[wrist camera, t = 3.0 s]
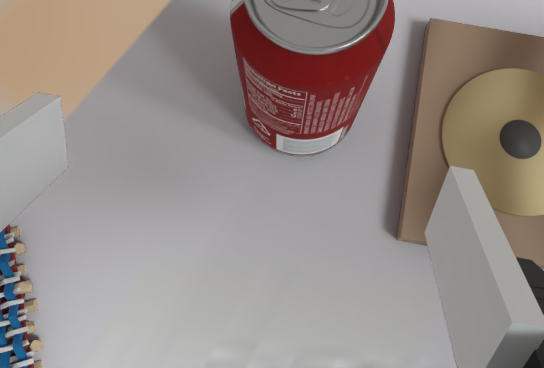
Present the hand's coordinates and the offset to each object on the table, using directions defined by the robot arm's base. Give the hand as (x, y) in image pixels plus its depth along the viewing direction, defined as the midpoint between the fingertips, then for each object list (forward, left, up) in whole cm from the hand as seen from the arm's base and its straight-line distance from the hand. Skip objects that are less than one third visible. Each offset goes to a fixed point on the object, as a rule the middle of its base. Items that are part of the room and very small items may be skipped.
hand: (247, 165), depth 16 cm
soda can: (-1, -7, -12) cm, 14 cm away
